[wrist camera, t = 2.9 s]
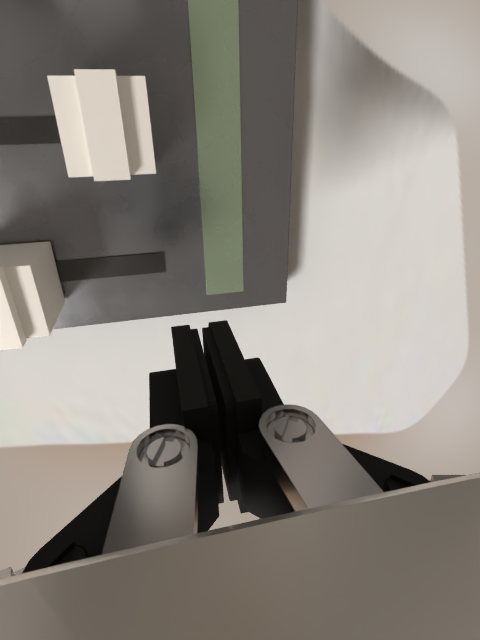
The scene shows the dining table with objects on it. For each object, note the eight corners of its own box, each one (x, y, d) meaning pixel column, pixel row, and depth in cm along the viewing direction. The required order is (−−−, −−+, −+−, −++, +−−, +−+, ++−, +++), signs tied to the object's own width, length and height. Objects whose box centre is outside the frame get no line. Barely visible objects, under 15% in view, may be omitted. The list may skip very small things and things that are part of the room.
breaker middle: (66, 83, 15) (41, 68, 11) (144, 83, 15) (144, 69, 12) (83, 171, 16) (66, 182, 13) (154, 168, 17) (156, 178, 13)
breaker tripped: (-24, 244, 17) (-70, 275, 13) (49, 239, 17) (24, 267, 14) (-2, 310, 18) (-37, 355, 14) (65, 303, 19) (46, 344, 15)
